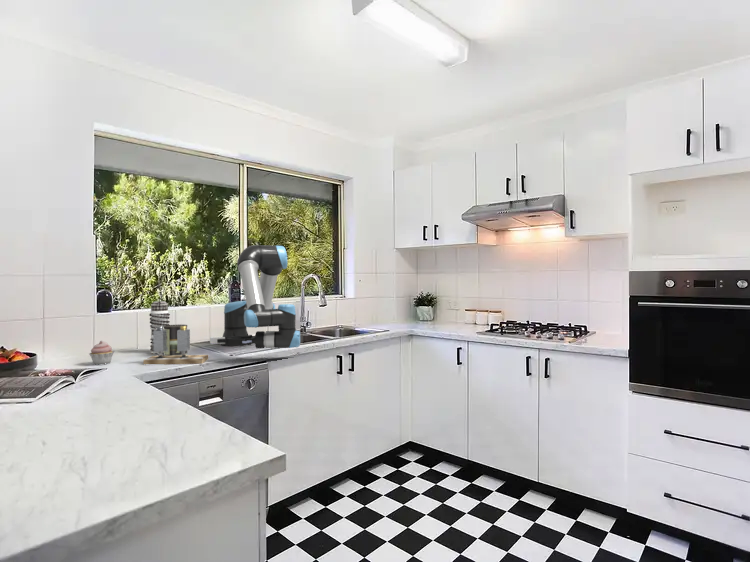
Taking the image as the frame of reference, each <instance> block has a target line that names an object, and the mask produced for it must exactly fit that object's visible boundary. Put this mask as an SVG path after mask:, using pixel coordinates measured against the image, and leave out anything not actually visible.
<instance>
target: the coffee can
mask: <svg viewBox="0 0 750 562" xmlns="http://www.w3.org/2000/svg"><path fill="white" fill-rule="evenodd" d="M181 326H186V329H188V324H169V325H166V326H164V330H166V337H167V350H166V351H164V353H163V356H175V355H182V351H177V330H180V329H181ZM185 353H186V355H188V351H185Z"/></svg>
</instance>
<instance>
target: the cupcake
mask: <svg viewBox="0 0 750 562" xmlns="http://www.w3.org/2000/svg"><path fill="white" fill-rule="evenodd" d="M114 353H115V351H113V349H112V346H110V345H109V344H108V342H106V341H103V340H100V341H99V343H97V344H95V345H94V346H93V347H92V348H91V350H90V352H89V353H88V354H89V356H90V358H91V360H92V363H93V365H94V364H104V365H106V364H105V363H109V364H111V361H112V358H113V356H114Z"/></svg>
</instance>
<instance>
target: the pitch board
mask: <svg viewBox="0 0 750 562" xmlns="http://www.w3.org/2000/svg"><path fill="white" fill-rule="evenodd" d="M208 360H209V355H208V354H187V355H186V356H185V357H182V355H175V356H164V355H162V358H158V355H152V356H150V357H147V358H144V359H143V363H142V364H164V365H196V364H197V365H198V364H199V365H201V364H204V363H205V362H206V361H208Z"/></svg>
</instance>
